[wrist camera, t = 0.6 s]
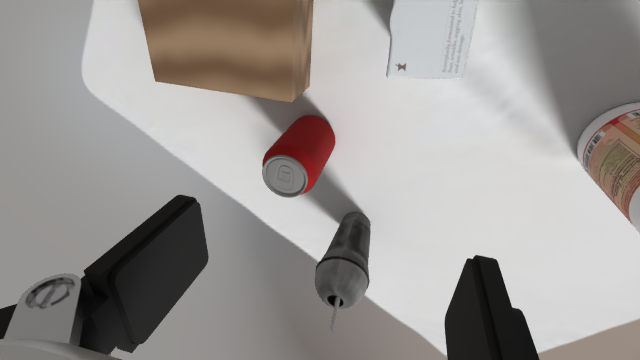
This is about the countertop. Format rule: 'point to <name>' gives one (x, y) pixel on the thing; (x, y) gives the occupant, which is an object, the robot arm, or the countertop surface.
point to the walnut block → (231, 45)
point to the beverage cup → (345, 265)
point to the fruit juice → (615, 157)
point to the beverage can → (298, 157)
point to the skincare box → (430, 38)
